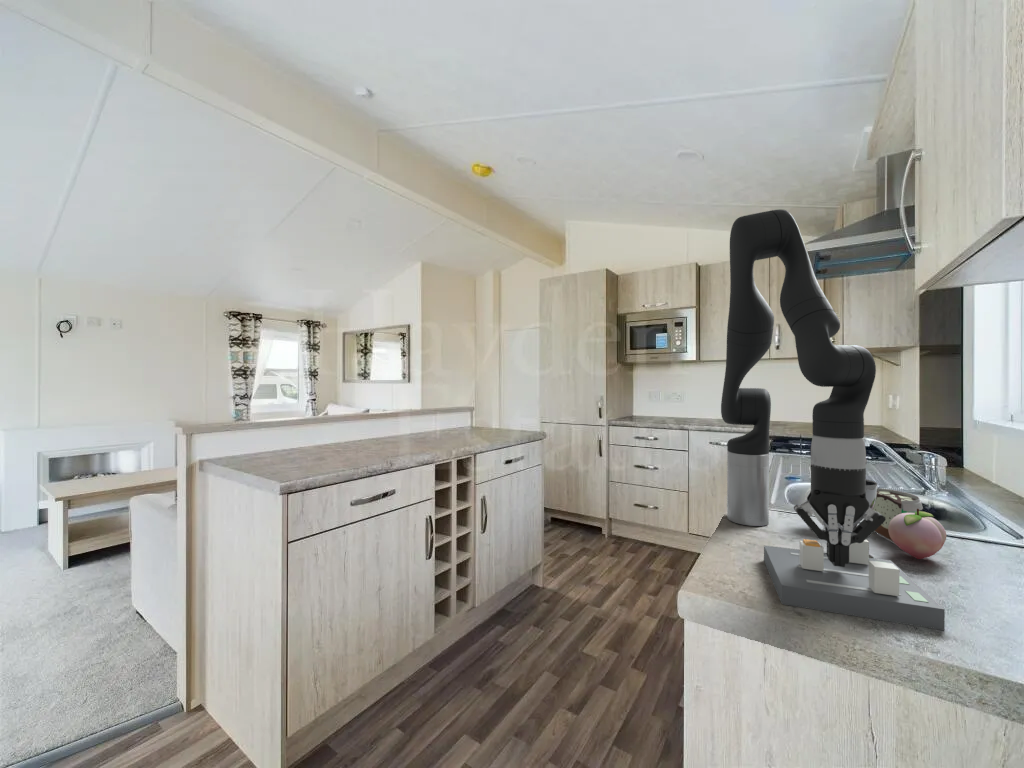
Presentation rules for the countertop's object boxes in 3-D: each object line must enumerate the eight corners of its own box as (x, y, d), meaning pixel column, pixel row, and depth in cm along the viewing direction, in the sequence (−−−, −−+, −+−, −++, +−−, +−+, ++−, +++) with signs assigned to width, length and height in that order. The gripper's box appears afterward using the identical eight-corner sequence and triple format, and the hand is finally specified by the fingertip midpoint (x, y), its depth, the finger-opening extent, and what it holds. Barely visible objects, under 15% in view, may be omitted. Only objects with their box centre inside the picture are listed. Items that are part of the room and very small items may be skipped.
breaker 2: (868, 585, 69) (868, 560, 69) (892, 589, 68) (892, 563, 68) (874, 592, 67) (874, 566, 67) (899, 596, 66) (899, 569, 66)
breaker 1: (843, 557, 81) (843, 535, 80) (863, 559, 79) (864, 537, 79) (848, 562, 78) (848, 539, 78) (868, 564, 77) (869, 541, 77)
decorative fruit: (896, 546, 94) (896, 499, 94) (950, 559, 87) (950, 509, 87) (881, 557, 88) (881, 507, 88) (936, 571, 82) (937, 517, 81)
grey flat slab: (763, 560, 87) (763, 544, 87) (890, 577, 79) (890, 559, 79) (781, 604, 70) (781, 584, 70) (944, 630, 63) (944, 608, 63)
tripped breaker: (799, 563, 78) (799, 538, 78) (819, 565, 77) (819, 540, 77) (802, 568, 76) (802, 543, 76) (823, 571, 75) (823, 545, 75)
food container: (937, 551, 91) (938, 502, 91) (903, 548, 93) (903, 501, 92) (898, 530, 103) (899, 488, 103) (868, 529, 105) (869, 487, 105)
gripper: (876, 461, 76) (876, 561, 76) (787, 457, 81) (787, 551, 81) (896, 469, 69) (896, 580, 69) (797, 464, 74) (797, 568, 74)
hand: (837, 564), depth 75 cm, fingers closed
